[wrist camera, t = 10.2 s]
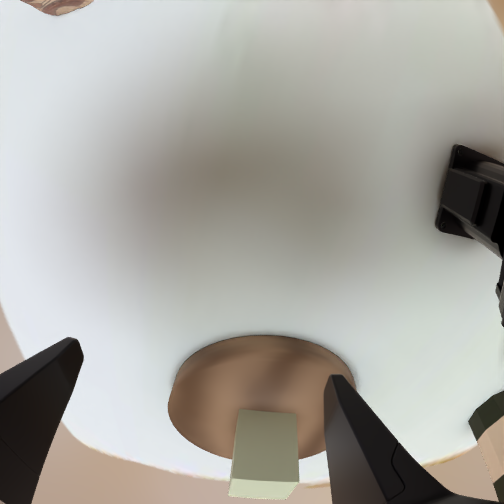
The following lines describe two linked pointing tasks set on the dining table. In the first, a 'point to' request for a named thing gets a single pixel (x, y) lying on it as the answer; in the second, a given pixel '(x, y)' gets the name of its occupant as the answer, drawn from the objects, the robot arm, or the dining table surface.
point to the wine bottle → (491, 438)
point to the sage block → (264, 455)
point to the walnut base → (253, 389)
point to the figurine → (57, 5)
